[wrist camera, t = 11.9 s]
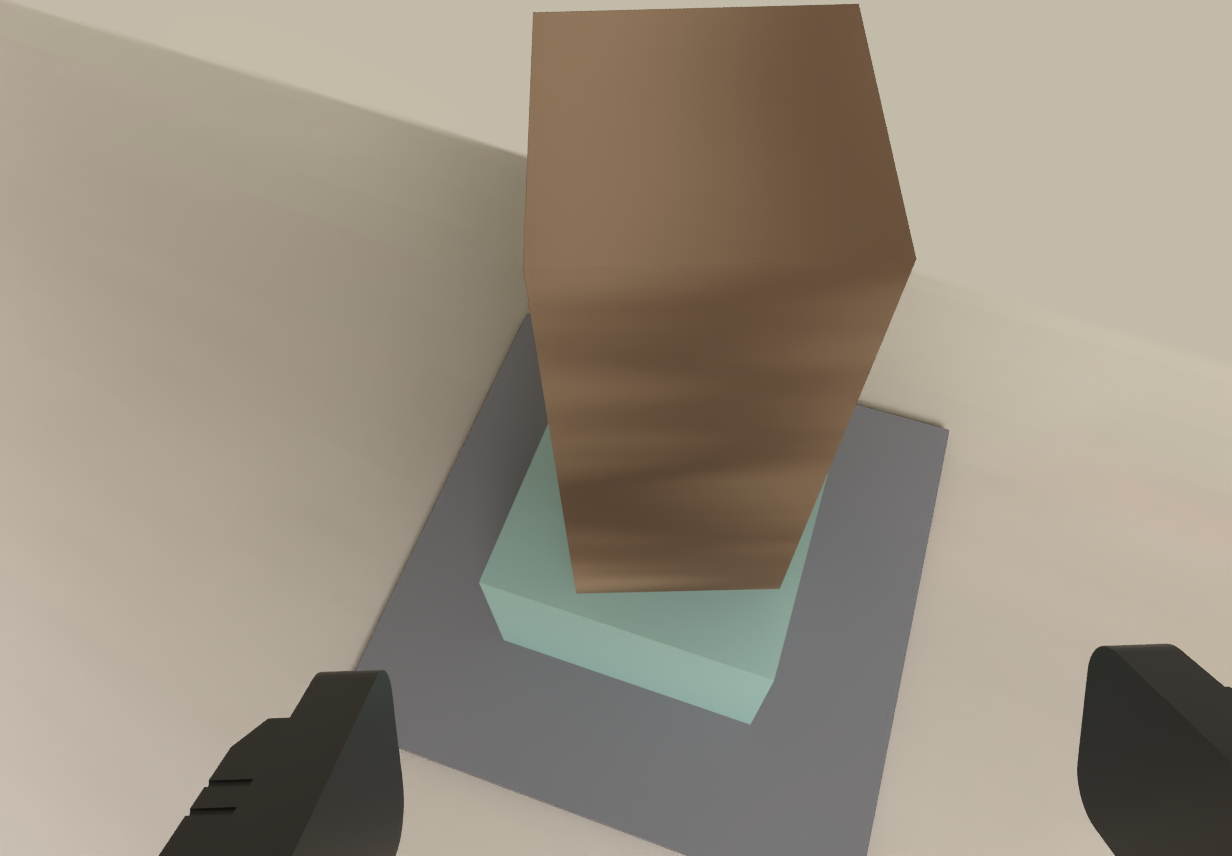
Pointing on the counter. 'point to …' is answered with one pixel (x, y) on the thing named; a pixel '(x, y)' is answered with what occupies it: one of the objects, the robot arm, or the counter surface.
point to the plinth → (635, 612)
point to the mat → (643, 719)
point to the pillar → (704, 278)
